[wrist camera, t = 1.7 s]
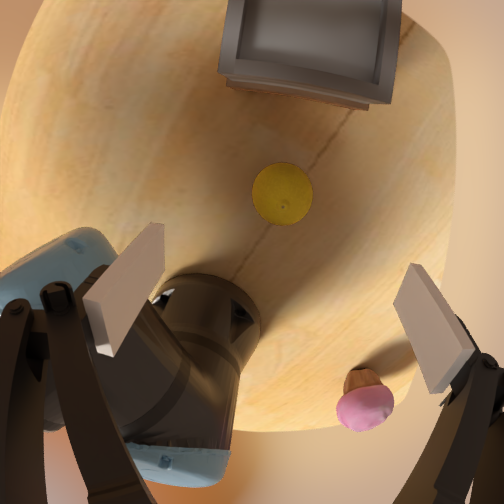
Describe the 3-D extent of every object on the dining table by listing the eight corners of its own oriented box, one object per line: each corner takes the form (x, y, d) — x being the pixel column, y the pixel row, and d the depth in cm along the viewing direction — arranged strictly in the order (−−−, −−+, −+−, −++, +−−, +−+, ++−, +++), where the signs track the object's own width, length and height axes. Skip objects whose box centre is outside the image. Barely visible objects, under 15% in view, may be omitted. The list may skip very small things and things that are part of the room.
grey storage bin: (354, 109, 26) (396, 113, 16) (234, 89, 26) (208, 79, 16) (367, 8, 20) (409, -32, 10) (249, -13, 21) (234, -67, 10)
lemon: (317, 171, 29) (330, 193, 22) (292, 215, 32) (296, 249, 25) (269, 147, 29) (266, 160, 22) (246, 193, 31) (236, 221, 24)
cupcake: (332, 393, 46) (337, 442, 37) (332, 362, 42) (339, 416, 33) (381, 385, 44) (393, 432, 36) (387, 353, 41) (403, 404, 32)
